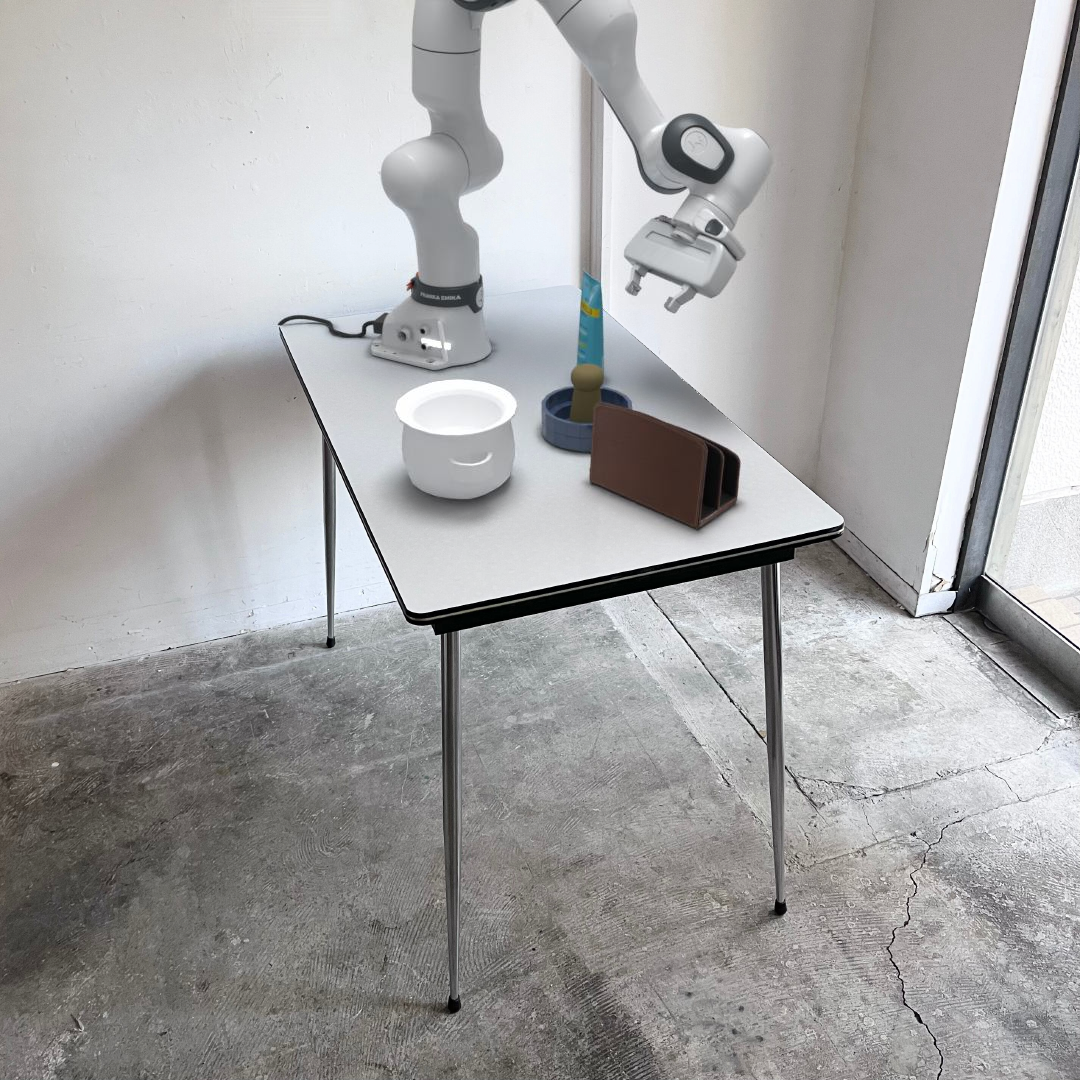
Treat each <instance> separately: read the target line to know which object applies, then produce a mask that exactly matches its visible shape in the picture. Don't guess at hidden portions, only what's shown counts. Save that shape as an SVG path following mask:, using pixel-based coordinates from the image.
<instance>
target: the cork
mask: <svg viewBox="0 0 1080 1080" xmlns="http://www.w3.org/2000/svg"><path fill="white" fill-rule="evenodd" d="M604 381H605V372H604V373H603V371H602V369H601V368H600V367H599V366H597V365H594V364H580V365H578V366H577V365H576V366H574V367H573V369H572V370H571V373H570V382H571V384H572V386H574V392H573V398H572V405H571V411H570V418H569V421H571V422H578V423H593V408H594V405H595V404H596V403H599V402H601V403H602V399H601V390H600V387H601V386H603V384H604Z"/></svg>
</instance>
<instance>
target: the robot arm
mask: <svg viewBox="0 0 1080 1080" xmlns="http://www.w3.org/2000/svg"><path fill="white" fill-rule="evenodd" d="M518 1H519V0H414V9H413V17H412V26H411V27H412V29H411V93H412V96H413V98H414V99H415V100H416V102H417V103H418V104H419V105H420V106H422V107H424V109H426V111H427V113H428V116H429V121H430V133H429V135H427V136H423V137H420V138H417V139H412V140H410V141H407V142H405V143H403V144H402V145H400V146H399V147H397V148H396V149H394V150H392V151H391V152H390V153H389V154H388V155H386V156H385V158H384V159H383V161H382V164H381V168H380V181H381V187H382V190H383V192H384V193H385V195H386V197H387V198H388V199H389V201H390V202H391V203H392V204H393V205H394V206H395V207H397V208H398V209H400V210H401V211H402V212H403V213H404V215H405V216H406V218H407V220H408V222H409V224H410V226H411V229H412V232H413V236H414V241H415V249H416V250H415V251H416V260H417V270H418V271H416V273H415V275H414V276H413V277H412V278H410V280H409V282H408V283H407V284H406V285H405V286H406V291H407V292H409V291H410V295H409V296H408V297H407V298H405V299H404V300H402V301H401V302H400V303H399V304H397V305H395V307H394V308H393V309H392V310H391V311H389V312H383V313H382V314H381V315H379V316H378V317H377V318H375V319H373V320H368V321H366V322H364V323H363V324H362V325H361V332H359V333H347V332H343V331H340V330H337V329H336V328H335V327H334V324H333V323H332V321H331V320H329V319H325V318H320V317H317V316H313V315H305V314H294V315H288V316H287V317H284V318H283V319H281V320H279V322H278V323H277V326H283V325H285V324H286V323H288V322H290V321H293V320H295V321H296V320H305V321H307V320H308V321H311V322H312V321H314V322H317V323H321V324H325V325H327V326H328V330H329V331H330V332H331V334H333V335H336V336H339V337H343V338H347V339H360V338H362V337H365V336H366V334H367V327H369V326H372V329H373V330H372V331H373V334H377V337H376V338H375V339H374V340H373V341H372V343H371V345H370V354H371V356H374V357H377V358H382V359H386V360H391V361H395V362H398V363H403V364H408V365H411V366H415V367H419V368H423V369H428V370H432V371H439V370H443V369H446V368H449V367H454V366H462V365H468V364H472V363H475V362H478V361H481V360H483V359H485V358H487V357H488V356H489V355H490V354H491V352H492V345H491V342H490V340H489V336H488V331H487V328H486V323H485V322H486V321H485V316H484V309H483V308H484V301H485V290H484V280H483V275H482V274H481V265H480V263H481V262H480V260H481V259H480V237H479V234H478V232H477V230H476V229H475V228H474V227H473V226H472V225H471V224H470V223H467V222H466V221H464V219H463V216H462V213H461V210H460V209H461V208H460V198H461V197H464V196H466V195H470V194H472V193H475V192H477V191H480V190H482V189H483V188H485V187H486V186H487V185H489V184H490V183H491V182H493V181H494V180H495V179H496V178H497V177H498V176H499V175H500V173H501V172H502V169H503V166H504V157H505V156H504V149H503V147H502V144H501V142H500V139H499V137H497V134H495V133H494V132H493V131H492V130H491V129H490V128H489V126H488V123H487V121H486V118H485V114H484V112H483V111H484V110H483V106H482V100H481V58H482V57H481V53H482V29H483V28H482V27H483V21H484V17H485V14H486V13H487V12H492V11H495V10H498V9H503V8H506V7H509V6H511V5H513V4H515V3H517V2H518ZM535 1H536V2H537V3H538V4H539V5H540V6H541V7H542V8H543V10H544V11H545V12H546V13H547V15H548V16H549V18H550V20H551V21H552V23H553V24H554V26H555V27H556V29H557V30H558V32H559V33H560V35H561V36H562V38H563V39H564V40H565V42H566V43H567V44H568V45H569V47H570V49H571V50H572V51H573V52H574V54H575V55H576V56H577V58H578V59H579V60H580V62H581V64H582V65H583V66H584V68H585V69H586V71H587V72H588V74H589V75H590V77H591V78H592V79H593V81H594V82H595V84H596V85H597V87H598V89H599V91H600V93H601V94H602V96H603V98H604V99H605V101H606V103H607V104H608V106H609V107H610V110H611V111H612V112H613V114H614V116H615V118H616V119H617V121H618V122H619V124H620V126H621V128H622V129H623V130H624V132H625V134H626V135H627V138H628V139H629V141H630V144H631V145H632V148H633V150H634V155H635V159H636V164H637V168H638V172H639V174H640V177H641V179H642V181H643V182H644V183H645V184H646V186H647V187H649V188H650V189H651V190H653V191H654V192H655V193H657V194H660V195H667V196H671V195H672V196H673V195H677V194H681V193H682V192H684V191H686V190H687V189H688V191H689V193H688V195H687V196H686V198H685V199H684V200H683V202H682V203H681V205H680V206H679V208H678V209H677V211H676V212H675V213H674V215H673V216H672V218H671V217H668V216H667V215H664V214H660V215H658V216H655V217H652V218H650V219H649V220H648V222H646V223H644V225H643V226H642V227H640V229H639V230H638V231H637V232H636V234H635V235H634V236H633V237H632V238H631V240H630V241H629V242H628V244H627V245H626V246H625V247H624V250H623V257H624V258H625V260H627V262H628V263H629V264H630V265H631V266H632V267H631V270H630V277H629V281H628V282H627V283H626V285H625V287H624V290H625V291H626V293H627V294H628V295H631V296H633V297H636V296H638V295H639V293H640V291H641V290H642V288H643V287H641V286H640V284H641V279H642V278H645V277H646V276H647V274H650V275H654V276H656V277H657V278H660V279H662V280H665V281H668V282H670V283H672V284H675V285H677V286H680V292H678V293H677V294H675V295H674V296H673V297H672V296H668V298H667V299H666V301H665V302H664V304H663V307H664V309H665V310H666V311H667V312H670V313H672V314H676V313H677V312H678V311H679V309H680V308H681V307H682V306H683V305H685V304H686V303H689V302H690V301H692V300H693V299H694V298H695V297H696V295H697V294H699V295H701V296H704V297H706V298H708V299H713V298H716V297H718V296H719V295H720V294H721V293H722V292H723V290H725V288H726V286H727V285H728V283H730V280H731V279H732V277H733V275H734V274H735V272H736V270H737V267H738V263H737V262H741V261H742V260H743V259H744V257H745V256H746V254H747V250H746V248H745V246H743V244H742V242H741V241H740V239H738V237H737V236H736V235H735V234H734V232H733V230H734V229H735V227H736V225H737V224H738V223H737V222H738V220H739V218H740V216H741V214H743V212H744V211H745V210H746V209H748V208H749V207H750V205H751V204H752V203H753V201H754V200H755V199H756V197H757V196H758V194H759V192H760V191H761V189H762V188H763V186H764V185H765V182H766V181H767V178H768V177H769V175H770V172H771V169H772V166H773V162H774V161H773V159H774V157H773V153H772V150H771V148H770V145H769V144H768V143H767V142H766V139H764V138H763V137H762V136H761V135H760V134H759V133H758V132H756V131H755V130H753V129H751V128H748V127H730V126H726V125H722V124H719V123H717V122H714V121H711V120H709V119H708V118H707V117H705V116H704V115H701V114H699V113H694V112H693V113H692V112H690V113H683V114H679V115H678V116H676V117H674V118H673V119H672V120H670V121H668V120H667V119H666V118H665V116H664V115H663V113H662V111H661V110H660V108H659V106H658V105H657V103H656V101H655V99H654V98H653V97H652V94H651V93H650V91H649V90H648V88H647V86H646V85H645V83H644V81H643V79H642V78H641V76H640V73H639V69H638V66H637V59H636V43H637V34H638V17H637V14H636V11H635V9H634V6H633V4H632V2H631V0H535Z"/></svg>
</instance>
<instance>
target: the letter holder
mask: <svg viewBox="0 0 1080 1080" xmlns="http://www.w3.org/2000/svg"><path fill="white" fill-rule="evenodd" d="M589 461H590V462H589V475H588V477H589V478H588V479H589V482H590V483H591V484H594V485H596V486H598V487H600V488H603V489H606V490H607V491H610V492H613V493H614V494H616V495H620V496H622V497H624V498H626V499H628V500H631V501H633V502H634V503H637V504H639V505H642V506H643V507H646V508H647V509H651V510H652V511H655V512H657V513H660V514H662V515H664V516H666V517H669V518H671V519H673V520H674V521H678V522H680V523H681V524H684V525H687V526H688V527H691V528H693V529H695V530H699V529H700V528H702V527H703V526H704V525H706V524H707V523H709V522H710V521H712V520H713V519H714V518H716V517H718V516H719V515H720V514H722V513H723V512H724V511H726V510H727V509H729V508H730V507H732V506H734V505H735V504H737V502H738V496H739V489H740V488H739V487H740V486H739V485H740V473H741V464H742V462H741V458H740V457H739V455H738V454H737V453H735V452H734V451H733V450H732V449H730V448H728V447H726V446H724V445H722V444H720V443H718V442H716V441H714V440H712V439H709V438H707V437H705V436H703V435H701V434H699V433H697V432H694V431H691V430H689V429H687V428H684V427H682V426H679V425H676V424H673V423H670V422H667V421H665V420H662V419H660V418H658V417H655V416H653V415H650V414H647V413H644V412H642V411H638V410H635V409H633V410H632V409H629V408H625V407H621V406H617V405H613V404H608V403H601V402H599V403H596V404H595V405H594V408H593V428H592V440H591V451H590V460H589Z"/></svg>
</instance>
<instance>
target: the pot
mask: <svg viewBox="0 0 1080 1080" xmlns="http://www.w3.org/2000/svg"><path fill="white" fill-rule="evenodd" d="M517 404H518V403H517V400H516V398H515V397H514V396H513V395H512V394H511V392H509V391H508V390H506V389H505V388H503V387H501V386H499V385H495V384H492V383H489V382H486V381H479V380H472V379H446V380H445V379H444V380H438V381H432V382H429V383H425V384H423V385H420V386H418V387H415V388H413V389H411V390H409V391H407V392H406V393H404V395H402V396H401V397H400V398H398V399H397V401H396V405H395V409H394V413H395V414H396V416H397V419H398V421H399V422H400V423H401V424H403V425H402V434H401V455H402V461H403V463H404V467H405V470H406V472H407V474H408V476H409V478H410V481H411V484H412V485H414V486H415V487H416V488H418V489H419V490H420V491H422V492H423V493H426V494H429V495H432V496H434V497H436V498H444V499H452V500H473V499H476V498H479V497H482V496H484V495H487V494H489V493H491V492H493V491H494V490H496V489H499V487H501V486H502V485H503V484H504V483H506V481H507V480H509V478H510V475H511V472H512V469H513V465H514V461H515V457H516V442H515V436H514V429H513V424H512V420H513V418H515V416H516V412H517V409H518V406H517Z"/></svg>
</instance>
